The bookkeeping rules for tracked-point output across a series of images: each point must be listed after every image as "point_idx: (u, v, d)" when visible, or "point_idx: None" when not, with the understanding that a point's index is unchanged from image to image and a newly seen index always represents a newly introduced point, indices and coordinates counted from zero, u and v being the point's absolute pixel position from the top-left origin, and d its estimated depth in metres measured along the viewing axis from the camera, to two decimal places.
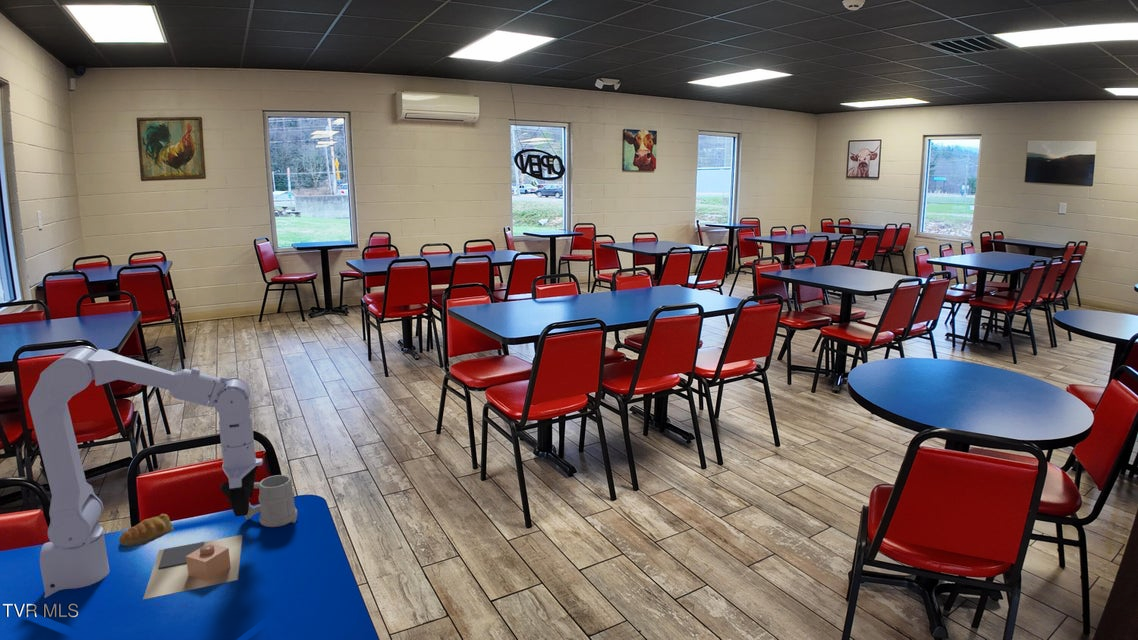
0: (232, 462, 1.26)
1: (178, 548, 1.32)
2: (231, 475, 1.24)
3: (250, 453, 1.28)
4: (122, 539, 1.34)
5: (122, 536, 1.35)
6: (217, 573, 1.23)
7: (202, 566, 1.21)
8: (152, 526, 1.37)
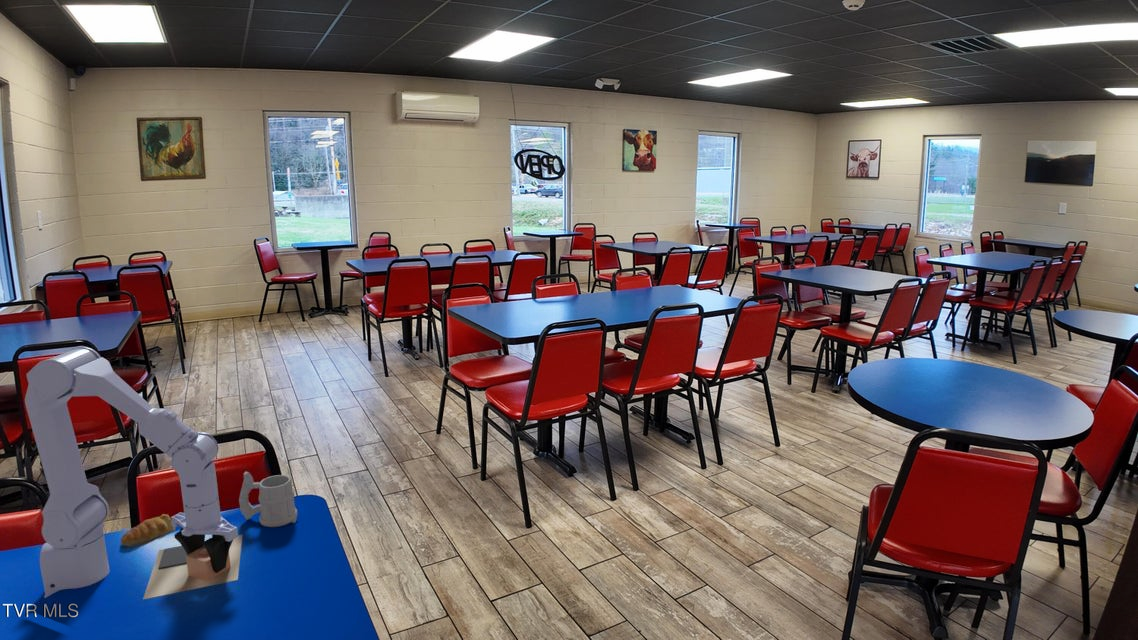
0: None
1: (178, 548, 1.32)
2: None
3: (184, 514, 1.21)
4: (124, 540, 1.34)
5: (124, 537, 1.35)
6: (217, 573, 1.23)
7: (202, 566, 1.21)
8: (154, 526, 1.37)
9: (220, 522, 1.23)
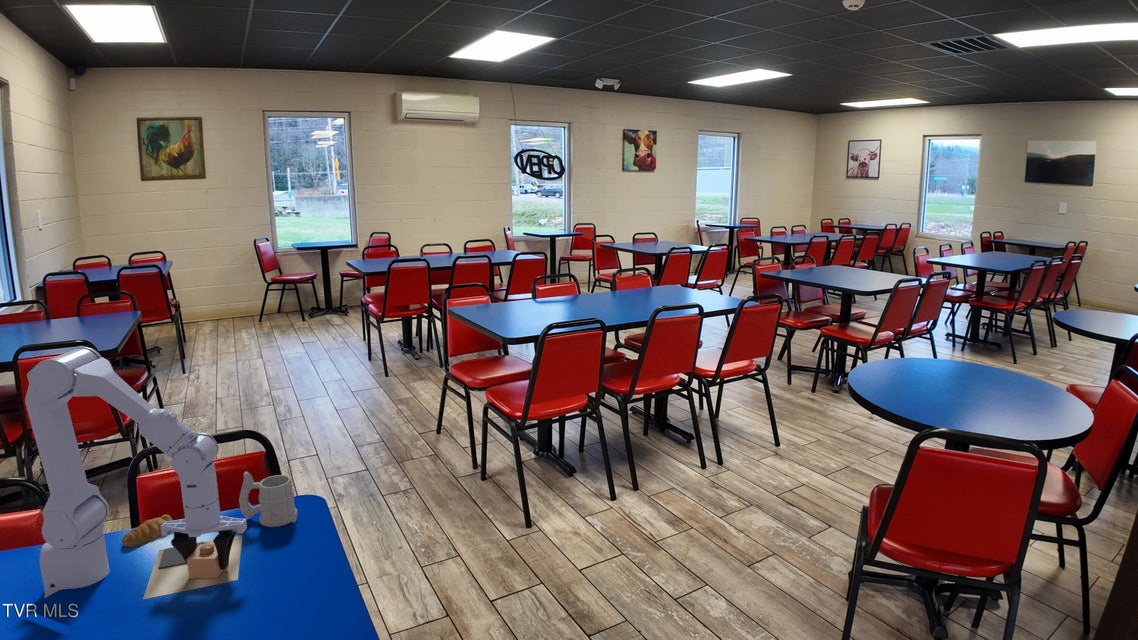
0: None
1: None
2: None
3: (186, 517, 1.20)
4: (125, 540, 1.34)
5: (125, 537, 1.34)
6: (222, 569, 1.24)
7: (210, 564, 1.22)
8: (155, 527, 1.36)
9: (222, 519, 1.24)
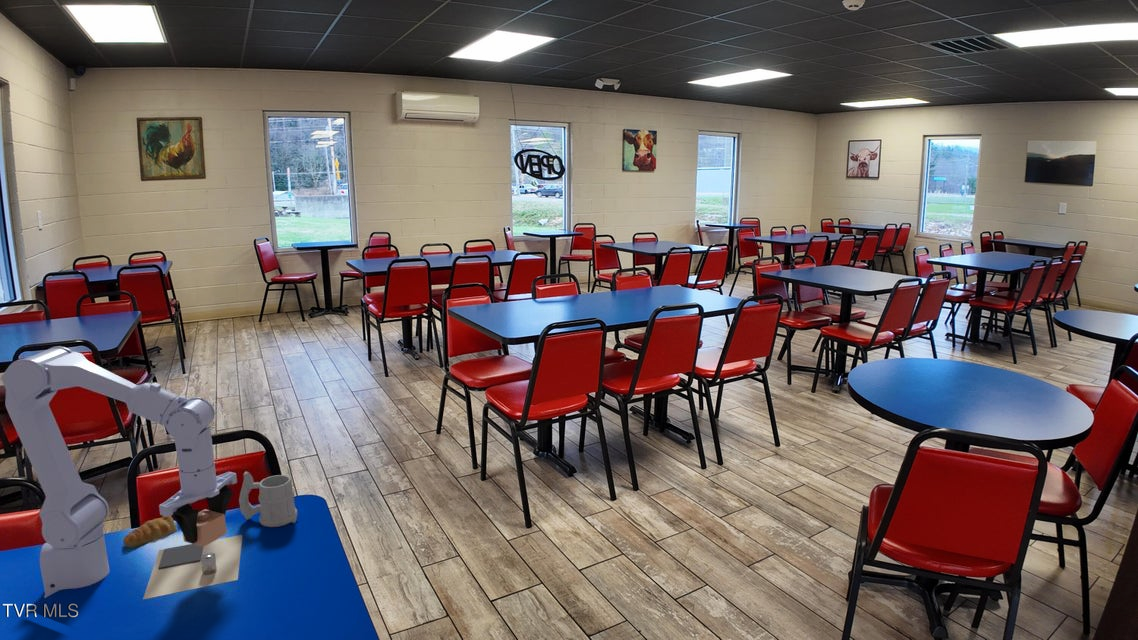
0: (181, 487, 1.19)
1: (178, 548, 1.32)
2: (172, 501, 1.17)
3: (198, 482, 1.18)
4: (127, 541, 1.33)
5: (126, 538, 1.34)
6: None
7: (221, 522, 1.23)
8: (157, 527, 1.36)
9: None
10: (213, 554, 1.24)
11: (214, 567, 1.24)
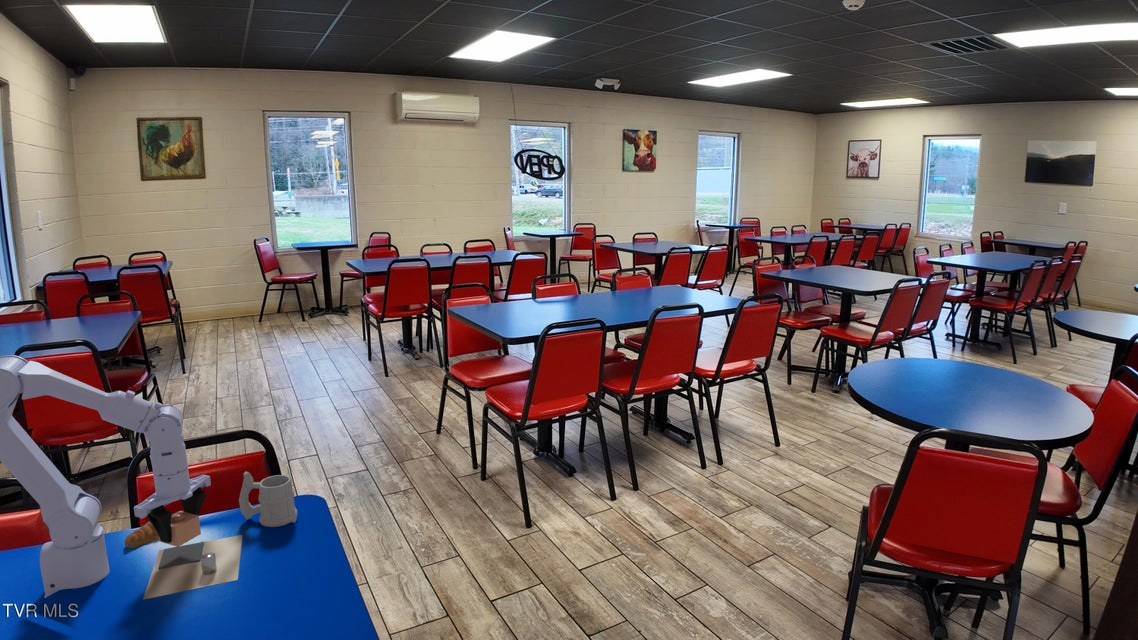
0: (156, 489, 1.24)
1: (178, 548, 1.32)
2: (146, 503, 1.23)
3: (172, 485, 1.24)
4: (128, 542, 1.33)
5: (128, 539, 1.34)
6: None
7: (195, 523, 1.29)
8: None
9: None
10: (213, 554, 1.24)
11: (214, 567, 1.24)
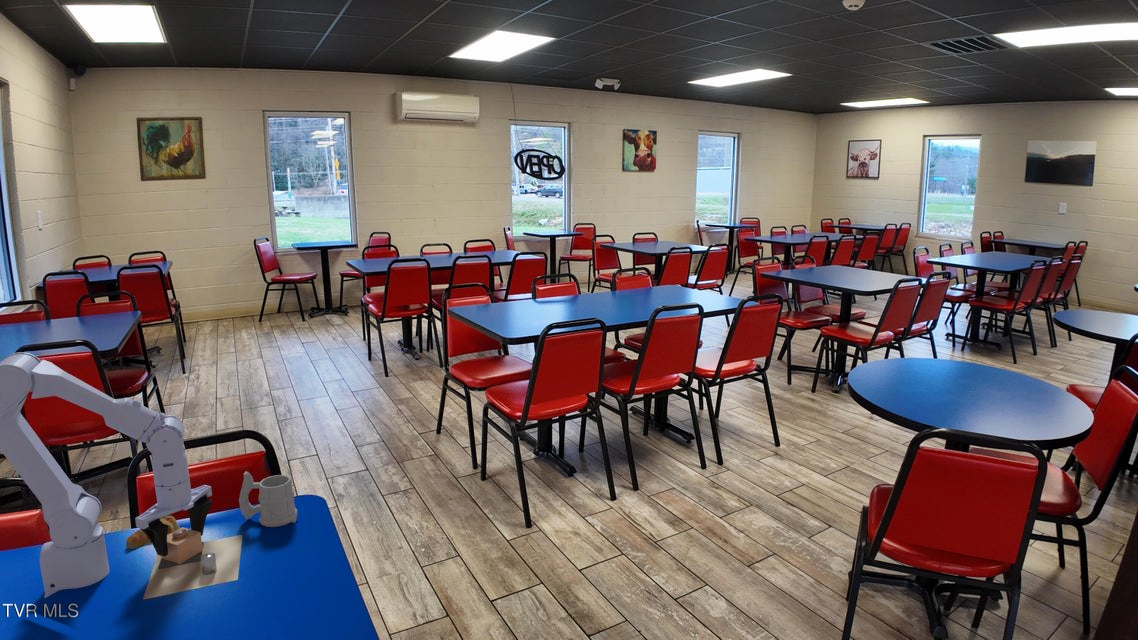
0: (157, 500, 1.25)
1: None
2: (148, 513, 1.23)
3: (173, 496, 1.24)
4: (130, 542, 1.33)
5: (129, 539, 1.34)
6: None
7: (197, 539, 1.30)
8: None
9: None
10: (213, 554, 1.24)
11: (214, 567, 1.24)
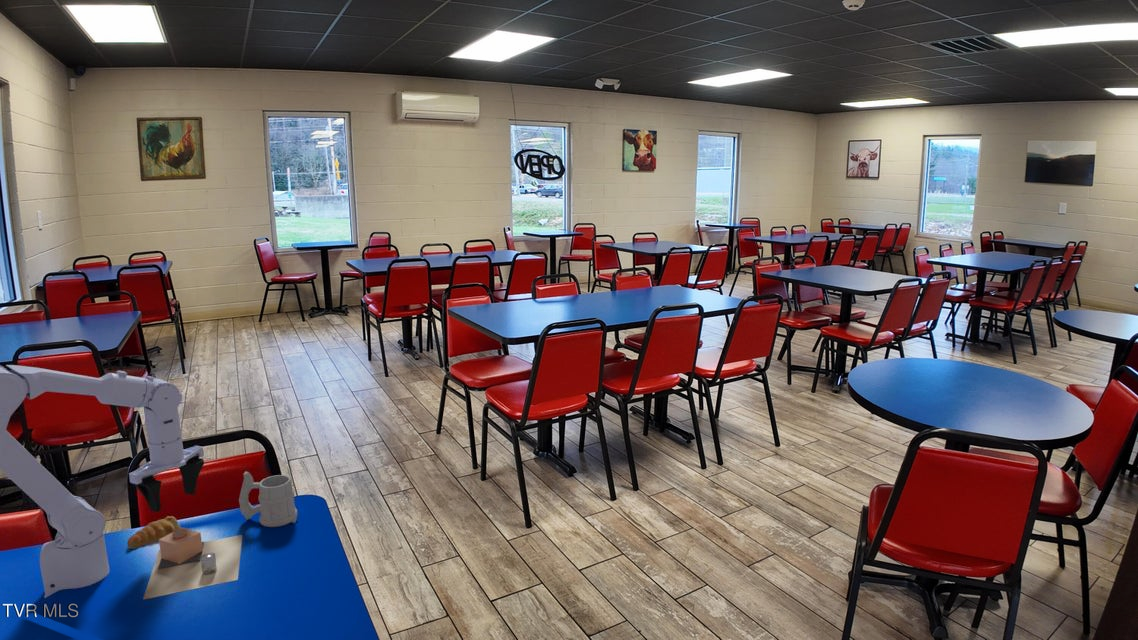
0: (151, 457, 1.29)
1: None
2: None
3: (166, 453, 1.29)
4: (131, 543, 1.33)
5: (130, 540, 1.34)
6: None
7: (197, 539, 1.30)
8: (161, 528, 1.36)
9: None
10: (213, 554, 1.24)
11: (214, 567, 1.24)
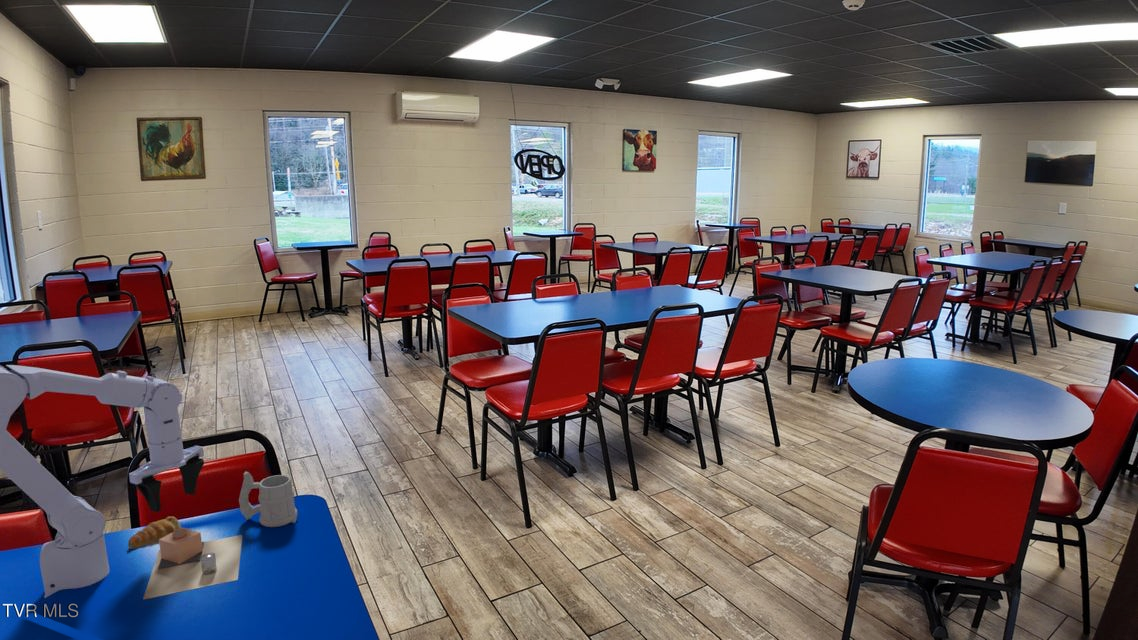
0: (151, 457, 1.29)
1: None
2: None
3: (166, 453, 1.29)
4: (132, 543, 1.33)
5: (131, 540, 1.33)
6: None
7: (197, 539, 1.30)
8: (162, 529, 1.36)
9: None
10: (213, 554, 1.24)
11: (214, 567, 1.24)
